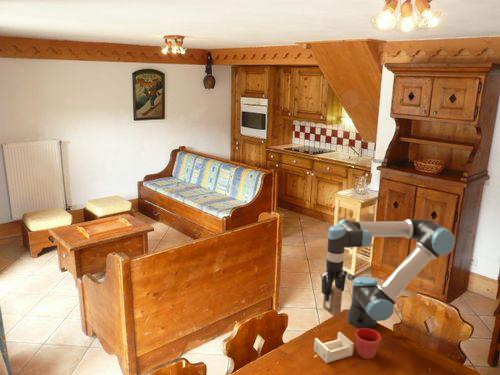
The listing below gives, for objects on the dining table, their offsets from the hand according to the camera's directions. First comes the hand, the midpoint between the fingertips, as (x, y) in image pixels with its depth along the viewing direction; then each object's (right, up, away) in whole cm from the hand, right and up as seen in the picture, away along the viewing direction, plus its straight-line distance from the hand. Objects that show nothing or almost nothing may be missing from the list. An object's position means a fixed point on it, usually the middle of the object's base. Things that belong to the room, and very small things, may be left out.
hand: (331, 306), depth 203 cm
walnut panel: (0, -3, +1) cm, 3 cm away
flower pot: (+14, -20, -7) cm, 25 cm away
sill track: (-1, -19, -7) cm, 21 cm away
